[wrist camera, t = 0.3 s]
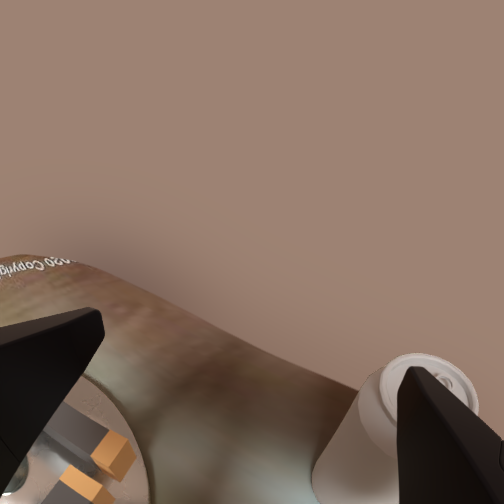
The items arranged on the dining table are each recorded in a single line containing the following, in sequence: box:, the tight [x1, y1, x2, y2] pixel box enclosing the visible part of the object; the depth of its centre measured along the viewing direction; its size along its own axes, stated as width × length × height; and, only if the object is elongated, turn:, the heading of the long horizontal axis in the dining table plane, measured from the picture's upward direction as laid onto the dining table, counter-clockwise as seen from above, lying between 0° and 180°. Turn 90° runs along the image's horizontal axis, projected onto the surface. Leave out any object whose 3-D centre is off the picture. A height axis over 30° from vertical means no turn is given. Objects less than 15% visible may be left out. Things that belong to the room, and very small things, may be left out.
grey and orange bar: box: [43, 401, 137, 483], centre depth 15 cm, size 11×4×4 cm, turn 74°
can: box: [312, 353, 479, 504], centre depth 14 cm, size 8×8×12 cm
